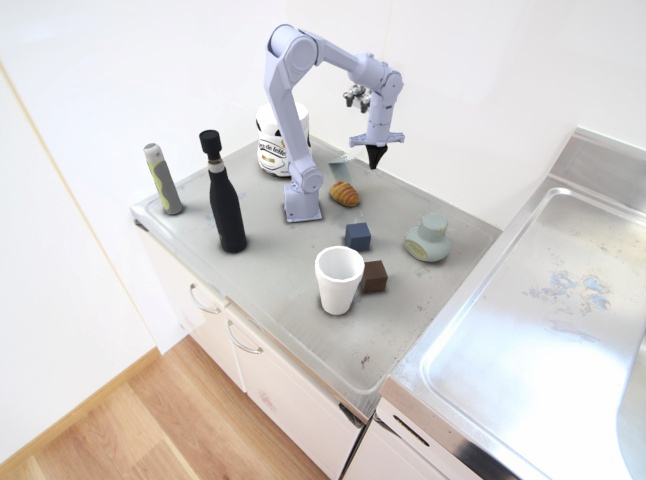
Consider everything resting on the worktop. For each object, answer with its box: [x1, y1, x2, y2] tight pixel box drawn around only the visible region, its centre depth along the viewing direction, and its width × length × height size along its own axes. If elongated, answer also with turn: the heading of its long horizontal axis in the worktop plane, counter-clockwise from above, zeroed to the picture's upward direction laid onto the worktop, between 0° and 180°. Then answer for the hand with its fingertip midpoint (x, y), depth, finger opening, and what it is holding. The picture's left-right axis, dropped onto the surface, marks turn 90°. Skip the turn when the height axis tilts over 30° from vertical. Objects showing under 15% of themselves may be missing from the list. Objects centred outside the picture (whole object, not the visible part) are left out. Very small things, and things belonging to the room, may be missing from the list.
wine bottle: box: [198, 129, 248, 254], centre depth 77 cm, size 6×6×30 cm
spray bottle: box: [142, 142, 183, 215], centre depth 90 cm, size 5×5×20 cm
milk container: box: [255, 101, 313, 178], centre depth 105 cm, size 17×17×18 cm
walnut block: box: [359, 259, 389, 295], centre depth 77 cm, size 5×5×5 cm
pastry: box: [329, 180, 360, 208], centre depth 98 cm, size 9×7×4 cm
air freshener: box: [403, 212, 452, 263], centre depth 81 cm, size 11×8×10 cm
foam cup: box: [314, 245, 365, 316], centre depth 70 cm, size 10×9×13 cm
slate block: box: [344, 221, 372, 253], centre depth 85 cm, size 5×5×5 cm
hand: (372, 167), depth 96 cm, fingers closed
